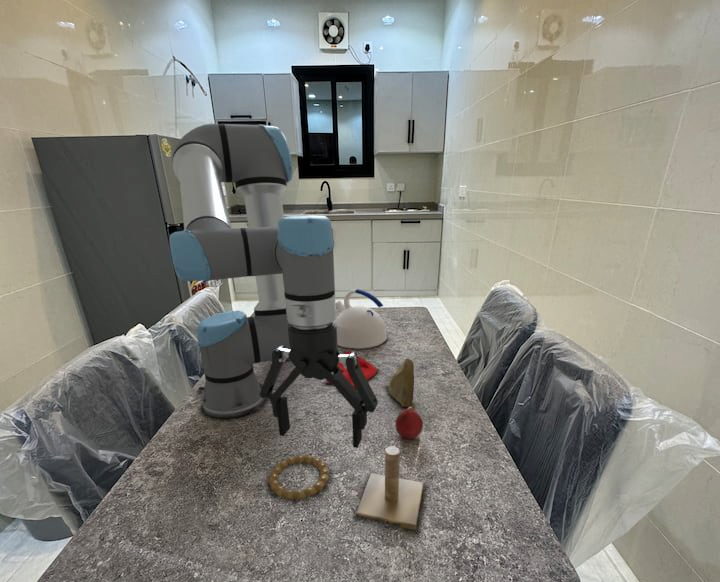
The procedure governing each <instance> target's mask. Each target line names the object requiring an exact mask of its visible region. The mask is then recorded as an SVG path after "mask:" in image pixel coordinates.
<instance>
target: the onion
mask: <svg viewBox="0 0 720 582" xmlns="http://www.w3.org/2000/svg"><path fill="white" fill-rule="evenodd" d="M394 424H395V430H396V432H397V434H398V435H399V436H401V438H404V439H407V440H408V439H409V440H410V439H413V438H416V437H418V436H419V435H420V434H421V433H422V430H423V427H424V422H423V419H422V417H421V415H420V414H419V413H418V412H417V411H415V410H414V407H413V406H411V407H407V409H404V410H402V411H401V412H400V413H399V414H398V415H397V417H396V419H395V423H394Z"/></svg>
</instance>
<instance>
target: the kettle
mask: <svg viewBox="0 0 720 582" xmlns="http://www.w3.org/2000/svg"><path fill="white" fill-rule="evenodd" d="M354 294H358V295H361V296H364V297H366V298H368V299H369V300H370V301H372V302H373V303H374V304H375V305H376V307H378V308H382V307H384V304H383V303H382V302H381V301H380V300H379V299H378V298H377V297H376V296H375V295H373V294H371V293H369V292H367V291H365V290H362V289H358V288H357V289H351V290H350V291H348V292H347V293H346V295H345V296H344V299H343V302H342V300H338V301H337V302H335V303H336V312H337V313H338V315H336V319H335V320H334V322H335V323H336V324H337V347H341V348H346V349H353V350H361V349H370V348H374V347H378V346H380V345H382V344H383V343H385V341H386V340H387V339H388V337H387V330H386V329H387V327H386V323H385V322H384V319H383V318H382V317H381V315H380V314H379V313H378V312H377V311H375V310H374V309H372V308H371V307H368V306H363V305H354V306H353V305H352V306H351V304H350V299H351V296H352V295H354Z"/></svg>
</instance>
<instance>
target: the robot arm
mask: <svg viewBox="0 0 720 582" xmlns="http://www.w3.org/2000/svg"><path fill="white" fill-rule="evenodd" d="M171 160H172V161H171V163H172V170H173V173H174V176H175V177H176V179H177V180H178V182H179V188H180V198H181V209H182V219H183V229H182V230H181V231H174V232H173V233H171V234H170V235H169V248H170V254H171V260H172V264H173V269H174V271H175V274H176V276H177V278H178V279H179V280H181V281H183V282H201V281H202V282H210V281H218V280H227V279H228V280H229V279H236V278H246V277H255V282H256V288H257V295H258V302H257V304H256V305H255V306H254V307H253V312H254V315H253V316H247V313H245V312H244V311H242V310H227V311H223V312H218V313H216V314H212V315H210V316H207V317H206V318H204V319H203V320H201V321H200V322H199V324H198V325H197V326H196V336H197V346H198V347H199V352H200V357H201V363H202V368H203V374H204V377H205V382H204V386H199V387H198V390H199V391H203V395H202V400H201V404H202V408H203V411H204V412H205V414H206V415H208V416H210V417H214V418H218V419H233V418H237V417H242V416H245V415H248V414H250V413H252V412H253V411H254V410H256V409H257V408H260V407H261V406H262V405H263V404H264V402H265V398H266V399H268V400H269V401H270V403H271V408H272V409H271V410H272V415H273V417H274V418H277V424H278V425H277V426H278V432H279V434H278V435H279V436H280V437H285V435H286V434H287V433H288V432H289V430H290V429H291V424H290V423H291V422H290V414H289V404H288V397H287V396H285V395H284V394H285V392H286V391H287V390H288V389H289V388H290V386H291V385H293V383H294V382H295V380H297V378H298V377H299V376H300V375H301V376H302V377H304V379H315V380H318V381H323V380H324V379H325V380H326V382H327V381H328V382H329V383H328V384H329V385H333V387H334V388H335V389H336V390H337V391H338V392H339V394H340V395H341V396H342V397H343V398H344V399H345V400H346V402H347V403H348V404H349V405H350V406H351V408H353V411H352V414H351V417H352V418H351V422H352V424H351V425H352V426H351V427H352V447H353V448H355V449H358V448H359V446H360V443H361V442H362V439H363V436H362V435H363V433H362V432H363V431H362V430H365V428H366V426H367V423H368V413H374V412H375V410H376V408H377V407H378V404H379V401H378V398H377V396H376V394H375V393H374V390H373V388H372V387H371V384H370V383H369V381H368V380H367V379H366V377H365V375H364V373H363V372H362V370H361V368H360V366H359V362H358V357H359V355H358V353H357V352H356V351H351V353H350V354H345V353H342V354H340V352H339V349H338V345H337V324H336V323H335V322H334V320H335V319H336V318H337V309H336V303H337V302H336V290H335V289H336V285H335V282H336V281H335V262H334V261H335V259H334V258H335V257H334V247H335V241H334V240H335V239H334V238H333V229H332V222H331V220H330V218H329V217H327V216H326V215H316V214H315V215H314V214H313V215H312V214H311V215H310V214H309V215H307V214H306V215H305V214H304V215H303V214H302V215H290V216H289V215H288V216H285V214H284V206H283V195H284V194H285V192H286V191H287V189H288V185H287V183H289V182H291V181H292V179H293V167H292V166H293V161H292V155H291V151H290V147H289V144H288V141H287V138H286V136H285V134H284V132H283V131H282V130H281V129H280V128H279V127H277V126H273V125H264V124H261V123H259V124H238V123H237V124H233V123H232V124H231V123H206V124H201V125H200V126H199V125H198V126H196V127H194V128H193V129H191V130H189V131H188V132H187V133H185V134H184V135H183V136H182V137H181V138H180V139H179V141H178V142H177V144H176V145H175V148H174V149H173V153H172V159H171ZM222 183H227V184H228V183H231V184H233V183H234V184H235V191H236V193H238V194H239V195H240V196H241V197H242V198H243V199H244V206H245V212H246V218H247V226H248V227H239V228H232V223H231V220H230V219H231V218H230V215H229V210H228V207H227V202H226V199H225V198H226V197H225V193H224V189H223V184H222ZM288 358H289V359H288ZM287 360H289V361H290V362H291V363H292V365H293V366H294V368H293V369H292V370H291V371H290V373H289V374H288V375H287V377H285V379H284V380H283V381H282V383H281V384H280V385H279V386H278V387H277V389H274V388H275V386H276V383H277V380H278V379H279V375H280V373H281V371H282V368H283V366H284V363H285V362H286V361H287ZM265 362H271V364H270V367H269V370H268V372H267V374H266V377H265V379H264V382H263V383H262V382H260V381H259V379H258V377H257V375H256V373H255V370H254V364H260V363H265ZM338 363H342V364H343V366H344V368H345V369H347V371H348V374H349V376H350V378H351V380H352V382H353V384H354V386H355V387H356V388H354V387H353V386H352V384H351V383H350V382H349V381H348V380H347V378H346V377H345V376H344V375H343V372H342V370H341V369H340V368H339V365H338Z"/></svg>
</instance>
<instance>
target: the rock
mask: <svg viewBox="0 0 720 582" xmlns="http://www.w3.org/2000/svg"><path fill="white" fill-rule="evenodd" d="M414 365H415V363H414V361H413V360H411V359H409V358H405V359H404V361H403V362H402V363H401V364H400V365H399V367H398V369H396V372H395V374H393V375H392V377H391V379H390V381H389V384H388V386H387V389H388V392H389V393H388V394H389V395H390V396H391V397H392V398H393V399H395V400H396V401H397V402H398V403H399V404H400V406H401V407H403V408H406V407H407V408H409V407H412V404H413V401H414V391H415V368H414V367H415V366H414Z"/></svg>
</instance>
